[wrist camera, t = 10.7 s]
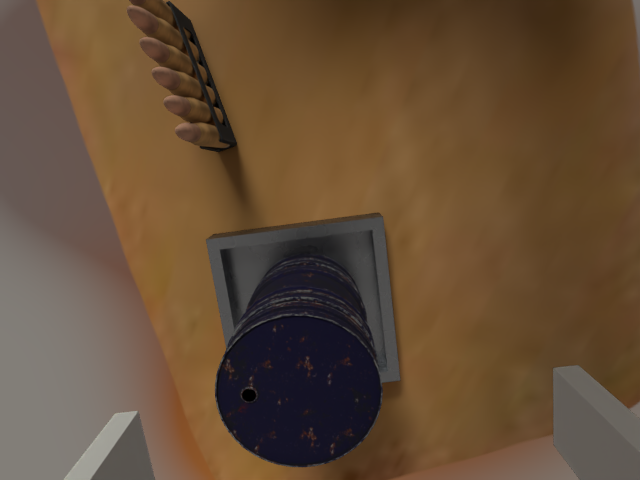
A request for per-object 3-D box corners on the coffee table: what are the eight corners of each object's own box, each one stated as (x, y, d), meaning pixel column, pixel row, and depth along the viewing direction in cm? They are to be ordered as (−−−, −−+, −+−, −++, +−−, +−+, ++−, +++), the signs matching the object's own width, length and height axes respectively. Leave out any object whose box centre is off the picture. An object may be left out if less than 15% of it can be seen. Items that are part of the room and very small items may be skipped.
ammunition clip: (237, 145, 37) (198, 140, 25) (217, 152, 37) (169, 151, 26) (190, 19, 35) (123, -49, 23) (169, 27, 35) (92, -37, 24)
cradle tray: (213, 234, 39) (205, 239, 36) (379, 212, 38) (383, 216, 36) (241, 385, 41) (236, 399, 39) (395, 367, 41) (400, 380, 39)
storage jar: (361, 249, 38) (384, 309, 24) (363, 352, 40) (386, 466, 25) (249, 254, 38) (204, 315, 24) (257, 356, 40) (219, 471, 26)
